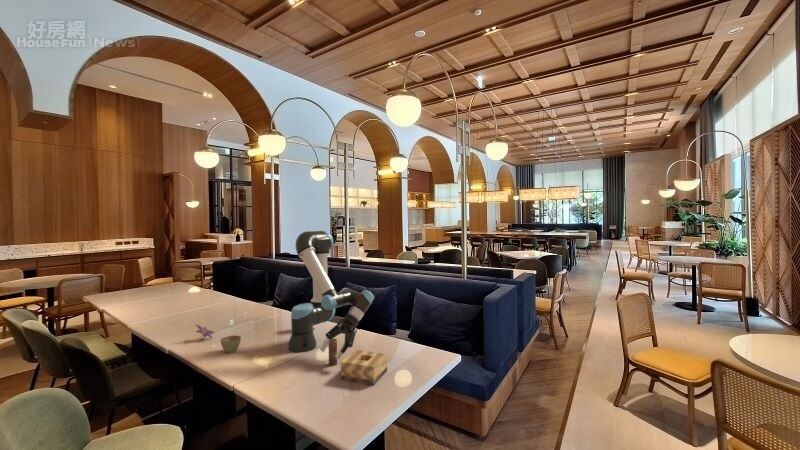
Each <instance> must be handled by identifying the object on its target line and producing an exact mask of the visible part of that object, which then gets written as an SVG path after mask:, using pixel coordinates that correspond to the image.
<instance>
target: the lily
mask: <svg viewBox="0 0 800 450" xmlns="http://www.w3.org/2000/svg"><path fill="white" fill-rule="evenodd" d="M195 326H196V327H197V330H195V331H194V332H195V333H198V334H201V336H200V338H199V340H198V341H199V342H198V343H200V341H201V339H202V337H203V338H206V337H209V338H210V339H213V336H212V335H213V334H215V333H216V331H214V330H212V329H211V330H210V329H208V328H207V326H203V327H202V326H201V325H199V324H195Z"/></svg>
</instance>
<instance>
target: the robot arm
mask: <svg viewBox="0 0 800 450" xmlns="http://www.w3.org/2000/svg"><path fill="white" fill-rule="evenodd" d="M333 247H334V237H333V236H332V234H330V232H329V231H326V230H311V231H309V230H308V231H307V230H306V231H303V232H301V233H300V234H299V235H298V236H297V238H296V240H295V252H296V254H297V256H298V257H299V258H300V259H302V261H303V263H304V265H305V266H306V268H307V270H308V273H309V275H310V276H311V278H312V295H313V296H312V298H311V299H310V302H304V303H300V304H299V303H298V304H297V305H294V306H293V307H292V308H291V314H290V318H291V324H290V325H291V336H290V337H289V342H288V351H290V352H293V353H294V352H295V353H304V352H305V353H306V352H308V351H312V350H314V349H315V348H316V347H317V341H316V337H315V334H314V330H313V328H314V326H316V325H320V324H323V323H327V322H328V321H331V320H332V319H333V318H334V316H335V313H336V309H337V308H340V307H343V306H348V305H351V307H350V309H349V311H348V312H347V314H346V315H345V316H344V318H343V322H341V321H338V322H337V323H336V325H334V326H333V327H332V328H331V329H329V331H327V332H326V333H325V336H326V338H325V340H324V341H323V343H322V344H321V346H320V347H319V351H321V352H322V353H325V351H326V349H327V347H329V339H335V337H337V336H339V335H341V334H343V335H344V343H343V344H342V345H341V346H340V348H339V350H337V354H336V356H335V357H336V358H337V361H340V360H341V358H342V357H343V355H344V354H345V353H346V352H347V350H348V348H353V345H354V341H355V337H356V334H357V332H358V329H357V328H356V327H357V326H358V325H359V323H360V321H361V320H362V318H363V317H364V315H365V314H366V312H367V311H368V309H369V308H370V306H371V305H372V303H373V301H374V299H375V295H374V294H373V293H372V292H371V291H370V290H368V289H363V290H362V291H361V292H358V291H355V290H353V289H351V288H348V287H344V288H341V289H340V291H337V290H336V289H335V287H334V285H333V283H332V281H331V279H330V277H329V275H328V256H329V255H330V250H331V249H332V248H333Z"/></svg>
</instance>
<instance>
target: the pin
mask: <svg viewBox="0 0 800 450" xmlns="http://www.w3.org/2000/svg"><path fill="white" fill-rule="evenodd" d="M337 353H338V340H337V338H332V339H329V345H328V366H330V367H334V366H337V365H338V359H337V358H336V357H335V356H336V354H337Z"/></svg>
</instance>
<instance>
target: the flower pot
mask: <svg viewBox="0 0 800 450" xmlns="http://www.w3.org/2000/svg"><path fill="white" fill-rule="evenodd" d="M241 340H242V336H240V335H237V334H236V335H235V334H234V335H227V336H224V337H222V338H221V339H220V344H221V347H222V349H223V351H224V352H225V353H226V354H233V353H235V352H236V351H237V350H238V349H239V347H240V344H241Z"/></svg>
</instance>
